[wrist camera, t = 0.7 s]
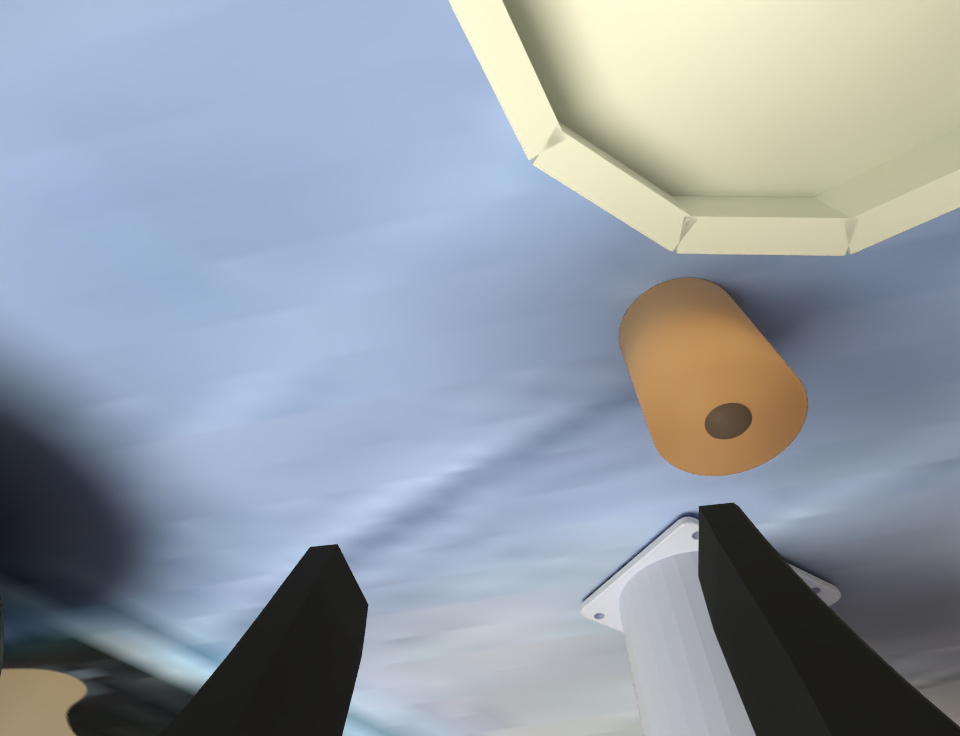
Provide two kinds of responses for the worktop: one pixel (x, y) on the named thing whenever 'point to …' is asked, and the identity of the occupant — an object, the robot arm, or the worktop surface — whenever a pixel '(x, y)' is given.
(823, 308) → the worktop surface
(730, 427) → the bead
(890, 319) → the worktop surface
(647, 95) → the tray
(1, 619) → the bowl of black rocks
